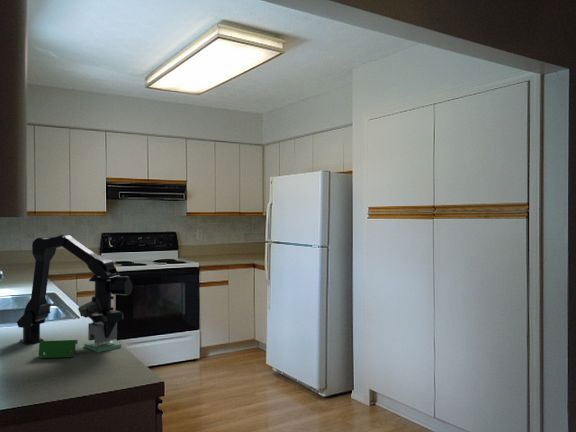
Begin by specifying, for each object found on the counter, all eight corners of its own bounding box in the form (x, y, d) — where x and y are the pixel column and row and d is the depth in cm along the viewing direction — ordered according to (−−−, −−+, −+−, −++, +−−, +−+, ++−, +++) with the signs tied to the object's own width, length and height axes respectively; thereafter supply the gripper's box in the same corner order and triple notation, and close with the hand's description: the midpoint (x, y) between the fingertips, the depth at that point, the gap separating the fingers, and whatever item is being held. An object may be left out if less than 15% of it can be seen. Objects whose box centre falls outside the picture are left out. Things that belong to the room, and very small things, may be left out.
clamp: (70, 366, 174) (83, 341, 177) (66, 367, 168) (79, 341, 171) (38, 353, 173) (50, 328, 176) (32, 354, 167) (46, 328, 170)
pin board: (84, 346, 183) (84, 338, 183) (107, 342, 189) (107, 333, 189) (97, 352, 176) (97, 343, 176) (121, 347, 183) (121, 338, 183)
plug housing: (88, 339, 182) (88, 323, 182) (108, 335, 188) (108, 320, 188) (96, 343, 178) (96, 326, 178) (117, 339, 184) (117, 322, 184)
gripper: (69, 293, 183) (69, 335, 183) (94, 300, 170) (94, 345, 171) (98, 289, 191) (98, 330, 191) (124, 296, 178) (123, 339, 179)
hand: (102, 336), depth 183 cm, fingers closed on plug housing, 6 cm apart
